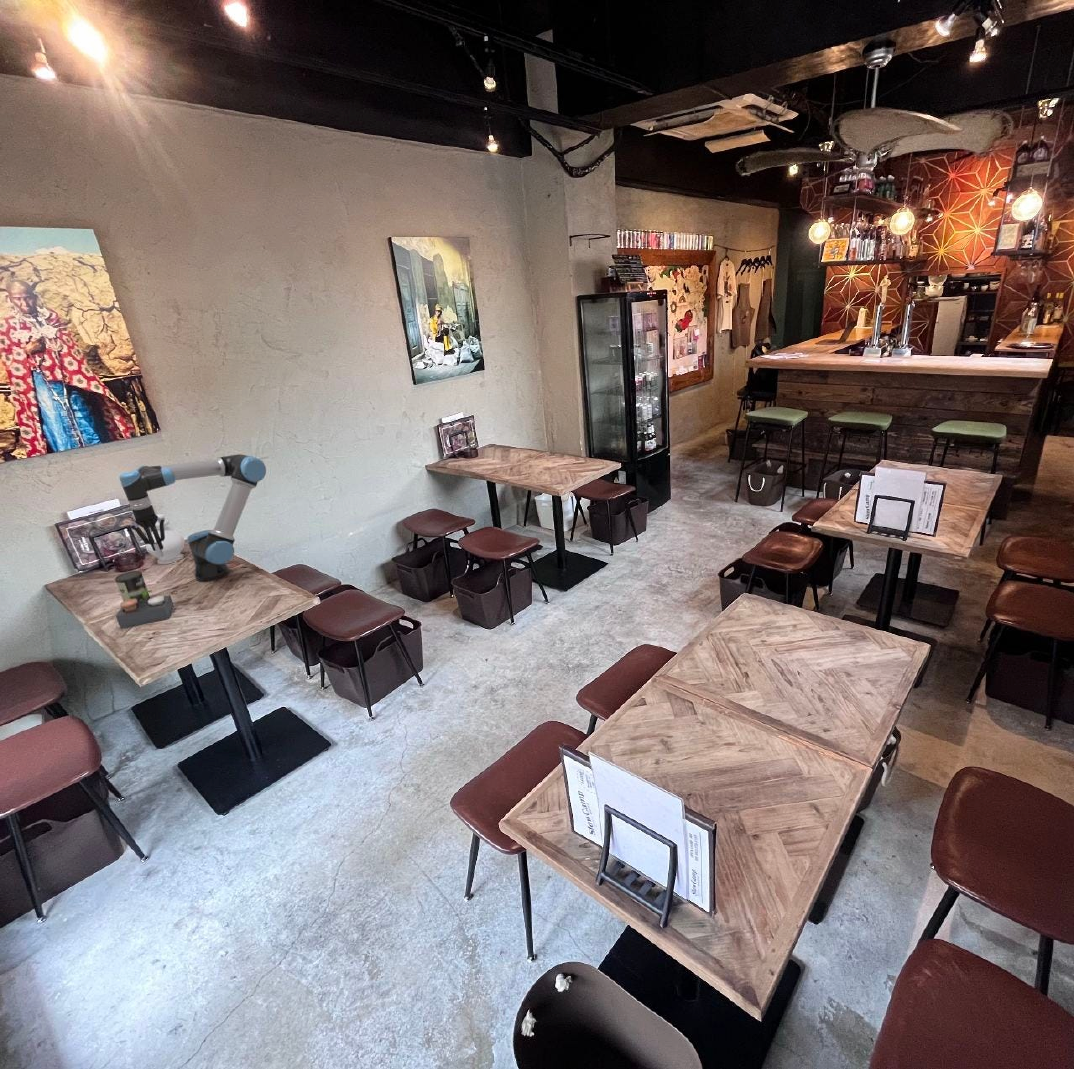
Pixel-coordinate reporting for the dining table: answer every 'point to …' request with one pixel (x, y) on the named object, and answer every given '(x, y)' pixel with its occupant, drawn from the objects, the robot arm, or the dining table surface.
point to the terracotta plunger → (129, 604)
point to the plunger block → (145, 613)
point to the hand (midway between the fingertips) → (161, 556)
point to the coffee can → (132, 586)
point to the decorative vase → (168, 544)
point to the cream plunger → (156, 600)
